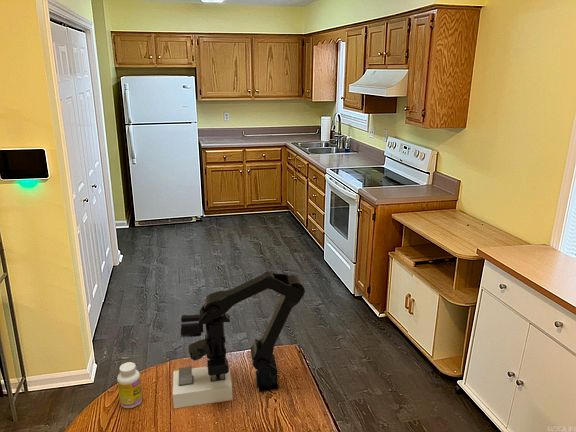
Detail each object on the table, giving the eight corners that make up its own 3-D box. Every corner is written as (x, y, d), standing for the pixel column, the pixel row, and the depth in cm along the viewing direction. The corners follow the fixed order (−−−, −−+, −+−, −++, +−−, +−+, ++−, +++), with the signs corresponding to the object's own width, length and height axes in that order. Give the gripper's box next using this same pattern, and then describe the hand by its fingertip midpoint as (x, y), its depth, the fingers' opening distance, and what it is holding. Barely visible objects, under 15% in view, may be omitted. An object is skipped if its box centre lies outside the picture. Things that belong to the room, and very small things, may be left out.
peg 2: (224, 384, 149) (223, 371, 148) (225, 392, 146) (224, 379, 144) (211, 386, 149) (211, 373, 147) (212, 394, 145) (211, 380, 143)
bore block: (229, 376, 154) (228, 363, 152) (232, 399, 142) (232, 386, 141) (174, 383, 150) (173, 370, 148) (173, 408, 139) (172, 394, 137)
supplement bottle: (135, 410, 138) (131, 374, 134) (116, 407, 139) (111, 372, 135) (146, 396, 144) (142, 361, 140) (127, 393, 145) (123, 359, 142)
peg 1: (192, 379, 146) (191, 366, 145) (192, 387, 143) (191, 374, 141) (179, 381, 146) (178, 368, 144) (179, 389, 142) (178, 375, 140)
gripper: (188, 321, 148) (192, 362, 153) (189, 353, 131) (192, 399, 135) (223, 317, 151) (225, 358, 155) (228, 349, 133) (230, 393, 138)
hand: (217, 376), depth 146 cm, fingers closed, pressing on peg 2
